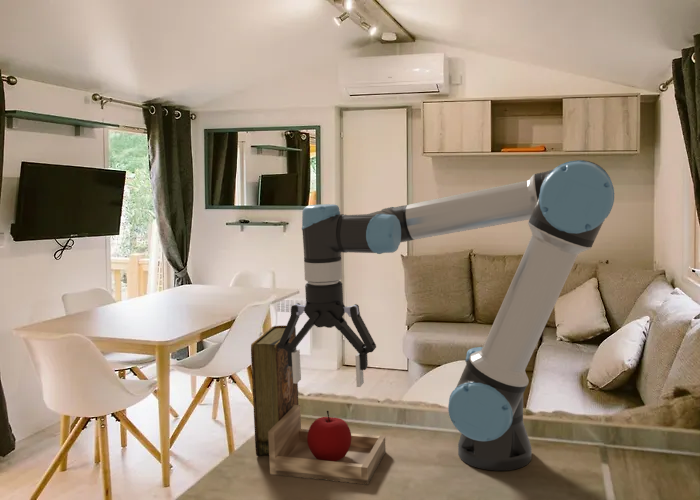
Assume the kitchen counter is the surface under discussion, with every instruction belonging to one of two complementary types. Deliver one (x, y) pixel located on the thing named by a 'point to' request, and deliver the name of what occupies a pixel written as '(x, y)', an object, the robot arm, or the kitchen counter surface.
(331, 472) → the tray
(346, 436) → the apple
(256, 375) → the book
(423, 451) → the kitchen counter surface
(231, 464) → the kitchen counter surface
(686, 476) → the kitchen counter surface
